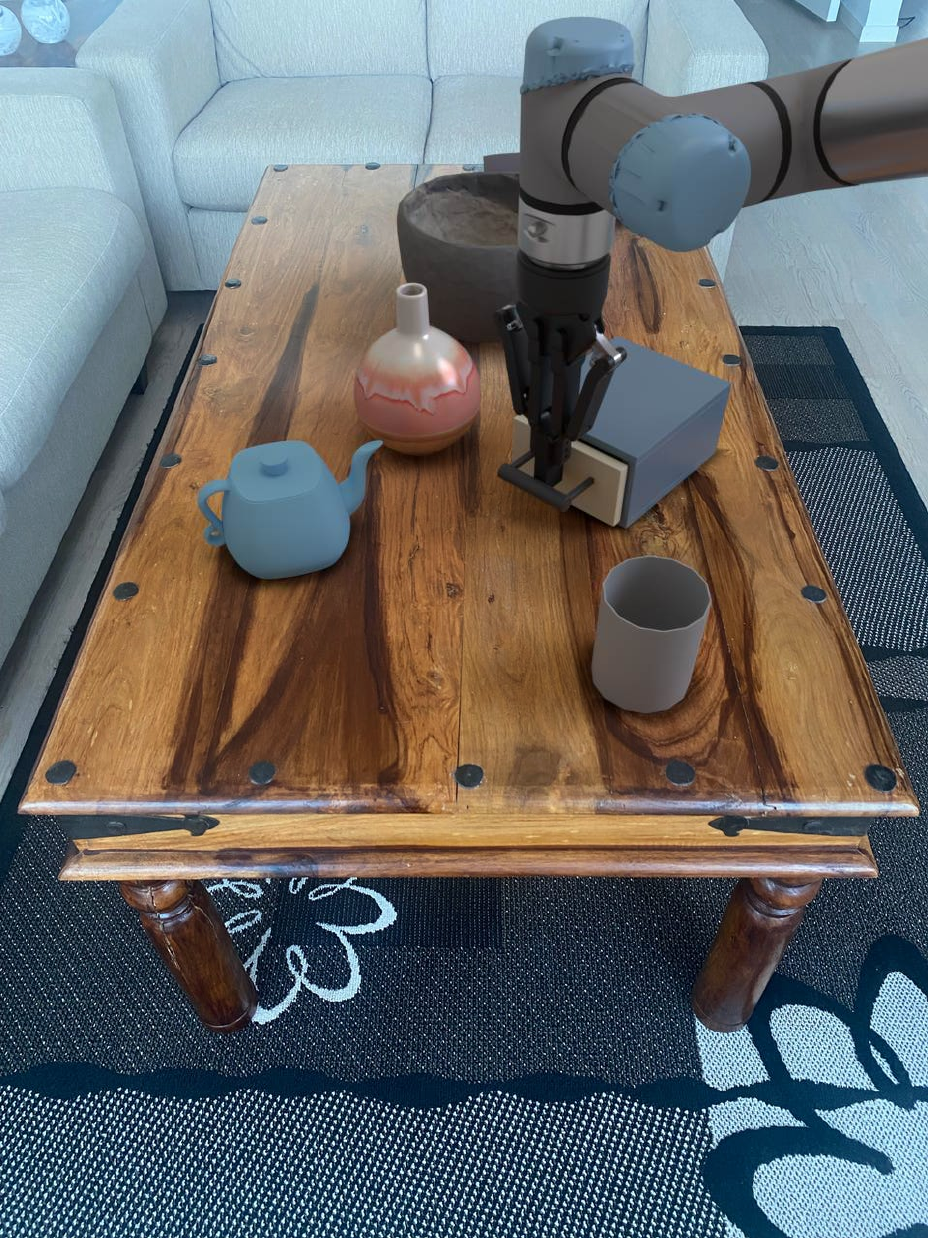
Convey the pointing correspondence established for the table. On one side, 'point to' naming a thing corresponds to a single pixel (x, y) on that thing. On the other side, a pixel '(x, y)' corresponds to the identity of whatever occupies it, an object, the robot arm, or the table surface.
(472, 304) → the bowl
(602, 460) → the open pull-out drawer
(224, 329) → the table surface
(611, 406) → the cabinet
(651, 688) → the cup
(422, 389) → the vase
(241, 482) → the teapot
